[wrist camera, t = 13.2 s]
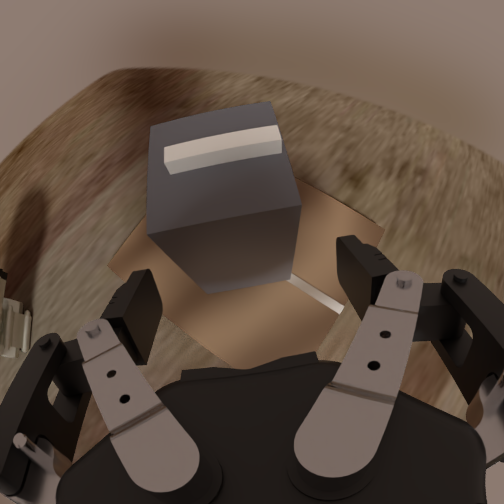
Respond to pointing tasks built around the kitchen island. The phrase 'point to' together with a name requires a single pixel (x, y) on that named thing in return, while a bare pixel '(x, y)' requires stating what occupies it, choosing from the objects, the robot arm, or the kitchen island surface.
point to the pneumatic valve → (13, 324)
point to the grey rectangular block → (224, 197)
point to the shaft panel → (259, 289)
